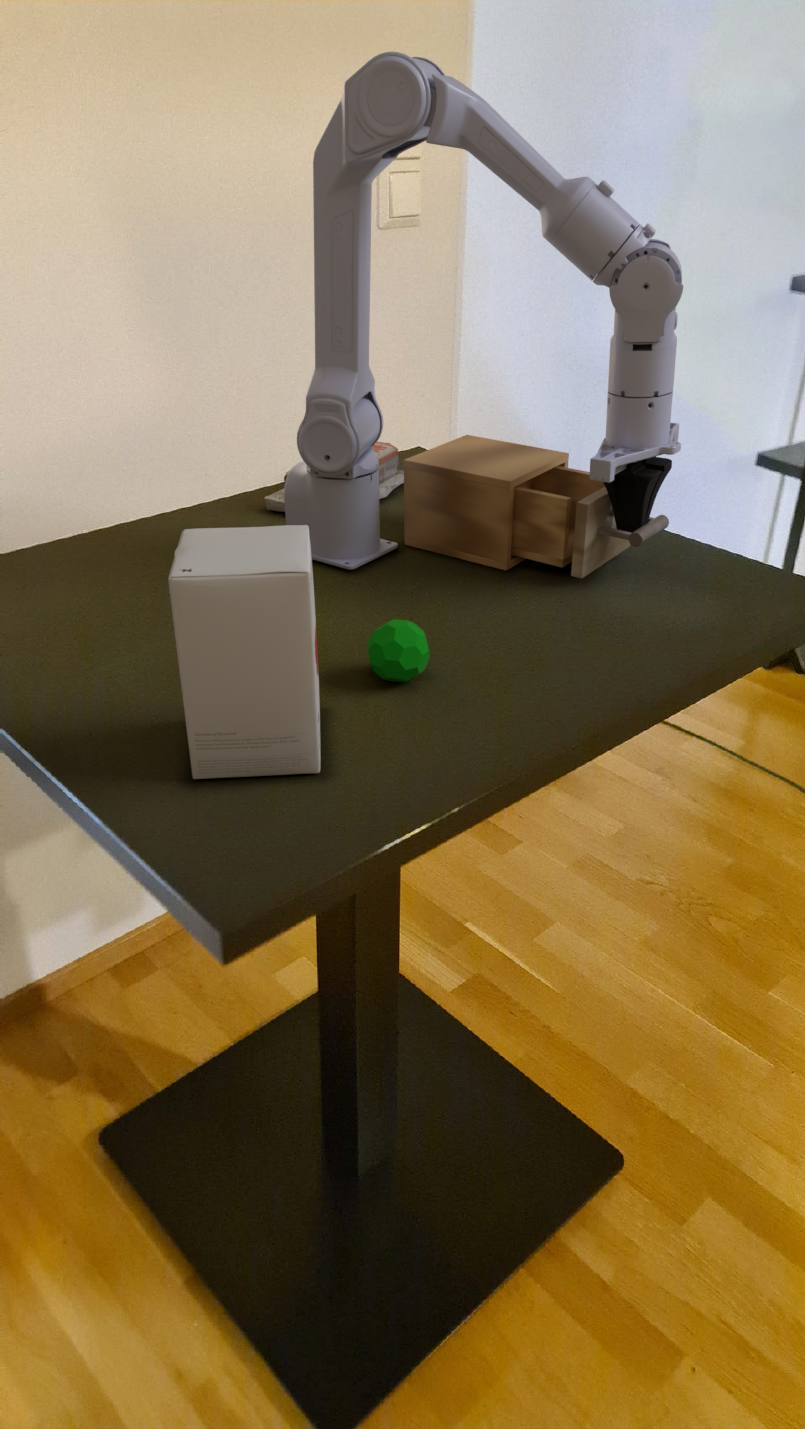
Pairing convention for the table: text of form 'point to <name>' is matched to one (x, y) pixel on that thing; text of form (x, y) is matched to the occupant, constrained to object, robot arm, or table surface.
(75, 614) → the table surface
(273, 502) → the packaged product
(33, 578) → the table surface
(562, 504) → the drawer
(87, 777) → the table surface
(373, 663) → the polyhedron
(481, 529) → the cabinet
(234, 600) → the rectangular carton
